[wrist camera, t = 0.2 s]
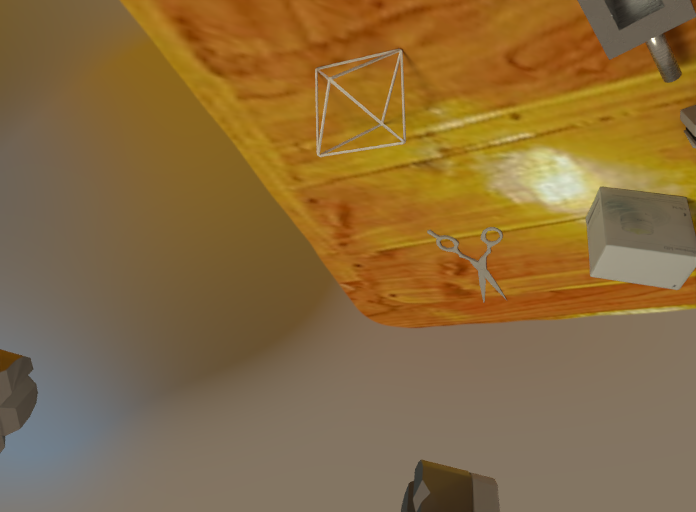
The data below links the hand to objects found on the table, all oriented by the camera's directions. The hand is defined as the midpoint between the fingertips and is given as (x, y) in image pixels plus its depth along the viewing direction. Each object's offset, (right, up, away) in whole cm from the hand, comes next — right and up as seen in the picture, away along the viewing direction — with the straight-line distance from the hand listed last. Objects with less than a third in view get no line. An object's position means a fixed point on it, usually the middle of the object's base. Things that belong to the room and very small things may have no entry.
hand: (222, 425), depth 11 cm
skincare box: (+40, +10, +59) cm, 72 cm away
